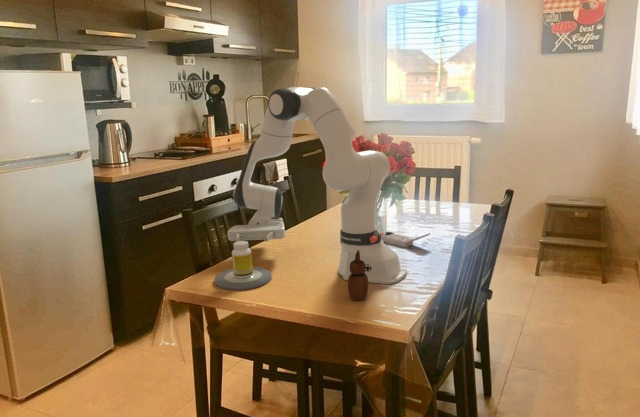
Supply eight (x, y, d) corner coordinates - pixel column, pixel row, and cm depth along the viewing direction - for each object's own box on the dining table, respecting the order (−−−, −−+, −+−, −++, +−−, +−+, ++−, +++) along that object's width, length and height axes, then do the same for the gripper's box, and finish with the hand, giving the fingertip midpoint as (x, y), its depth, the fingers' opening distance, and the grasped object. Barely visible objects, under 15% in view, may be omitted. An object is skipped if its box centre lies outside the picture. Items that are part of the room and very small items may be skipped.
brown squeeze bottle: (367, 303, 149) (366, 252, 146) (346, 302, 150) (345, 251, 147) (369, 293, 156) (368, 244, 152) (350, 293, 157) (348, 244, 154)
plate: (282, 274, 174) (282, 271, 174) (247, 294, 159) (247, 289, 159) (239, 267, 183) (239, 263, 183) (203, 284, 168) (202, 280, 168)
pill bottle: (256, 275, 171) (254, 242, 168) (240, 280, 167) (237, 246, 164) (245, 271, 175) (243, 238, 173) (229, 275, 171) (227, 242, 169)
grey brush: (422, 236, 191) (368, 225, 208) (421, 252, 192) (368, 239, 210) (431, 233, 195) (378, 222, 213) (431, 248, 197) (378, 236, 214)
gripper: (231, 220, 195) (221, 232, 181) (286, 217, 193) (280, 229, 179) (233, 236, 196) (223, 249, 183) (288, 234, 194) (282, 247, 181)
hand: (252, 239), depth 181 cm, fingers open, 8 cm apart
